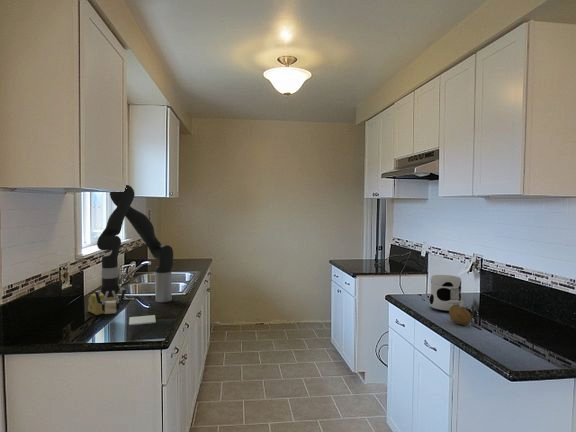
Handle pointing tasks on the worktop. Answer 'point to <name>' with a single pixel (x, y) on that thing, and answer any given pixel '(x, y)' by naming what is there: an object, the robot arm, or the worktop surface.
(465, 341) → the worktop surface
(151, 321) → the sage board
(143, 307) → the worktop surface
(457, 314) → the potato
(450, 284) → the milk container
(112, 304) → the oak block
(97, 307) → the cheese
